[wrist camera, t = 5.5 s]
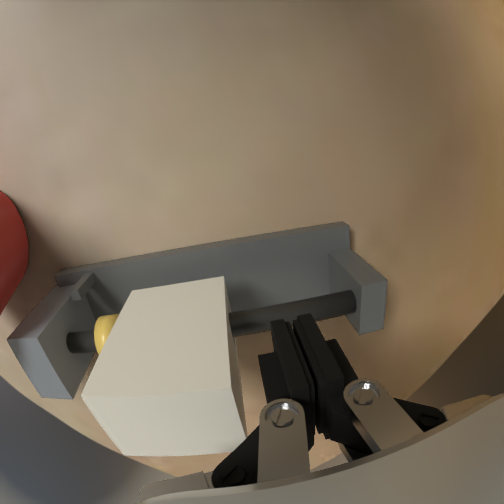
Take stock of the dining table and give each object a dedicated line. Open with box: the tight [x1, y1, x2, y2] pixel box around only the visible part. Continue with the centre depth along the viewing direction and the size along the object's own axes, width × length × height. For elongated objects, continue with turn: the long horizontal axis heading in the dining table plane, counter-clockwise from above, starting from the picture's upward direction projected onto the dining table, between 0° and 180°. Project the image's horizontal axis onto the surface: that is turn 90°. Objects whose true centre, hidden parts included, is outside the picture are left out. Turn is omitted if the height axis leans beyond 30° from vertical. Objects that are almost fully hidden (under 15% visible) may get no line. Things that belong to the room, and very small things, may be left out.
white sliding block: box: [81, 276, 248, 456], centre depth 12 cm, size 5×4×8 cm
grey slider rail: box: [7, 222, 387, 399], centre depth 15 cm, size 19×6×7 cm, turn 98°
